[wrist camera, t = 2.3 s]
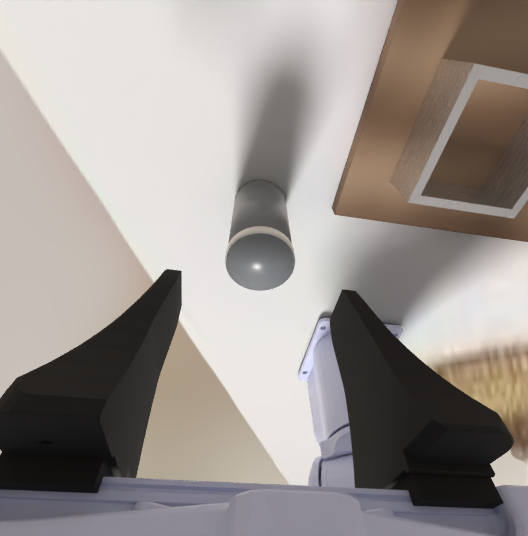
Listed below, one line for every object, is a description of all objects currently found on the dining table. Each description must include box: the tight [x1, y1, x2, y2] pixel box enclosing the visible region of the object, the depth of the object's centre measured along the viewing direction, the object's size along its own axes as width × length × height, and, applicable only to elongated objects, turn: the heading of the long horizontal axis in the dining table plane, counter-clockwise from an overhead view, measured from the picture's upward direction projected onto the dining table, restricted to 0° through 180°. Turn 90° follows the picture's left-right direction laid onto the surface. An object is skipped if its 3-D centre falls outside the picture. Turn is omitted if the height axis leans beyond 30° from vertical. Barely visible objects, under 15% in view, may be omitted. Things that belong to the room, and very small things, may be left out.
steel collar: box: [390, 59, 528, 218], centre depth 17 cm, size 6×6×3 cm
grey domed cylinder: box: [225, 180, 295, 290], centre depth 19 cm, size 4×4×7 cm
